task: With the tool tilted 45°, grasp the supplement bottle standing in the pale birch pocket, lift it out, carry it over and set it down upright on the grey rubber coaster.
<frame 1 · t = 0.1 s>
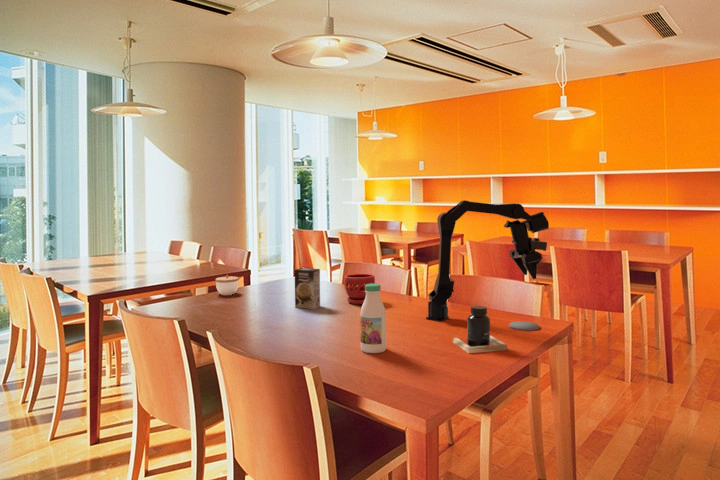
hand: (530, 276, 183), 15 cm above the table, tool pointing down, fingers open, 9 cm apart
lidded jar: (227, 294, 237), on the table
coffee box: (307, 307, 207), on the table
coaster: (524, 326, 172), on the table
milk bottle: (373, 350, 148), on the table
pocket: (478, 345, 151), on the table
supplement bottle: (478, 346, 151), on the table
plant pot: (360, 302, 215), on the table
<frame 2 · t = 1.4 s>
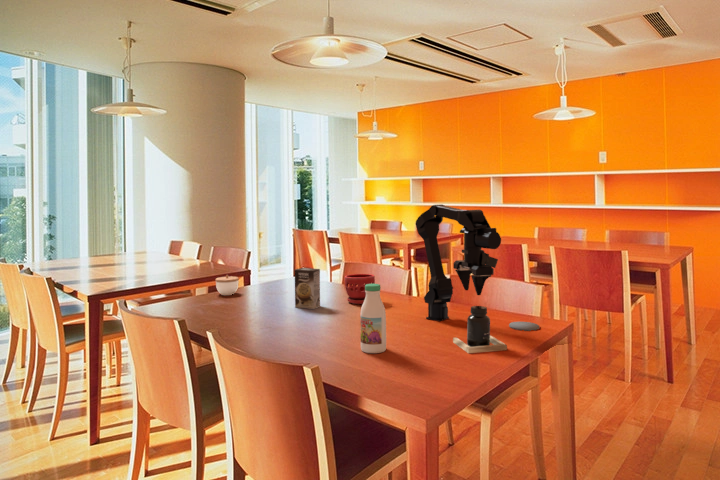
hand: (472, 292, 167), 13 cm above the table, tool pointing down, fingers open, 9 cm apart
nothing on the table moved.
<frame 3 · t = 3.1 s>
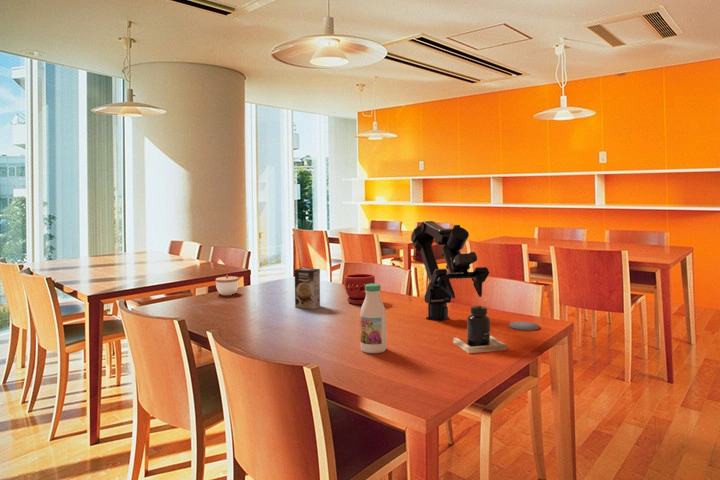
hand: (467, 297, 158), 13 cm above the table, tool tilted 45°, fingers open, 9 cm apart
nothing on the table moved.
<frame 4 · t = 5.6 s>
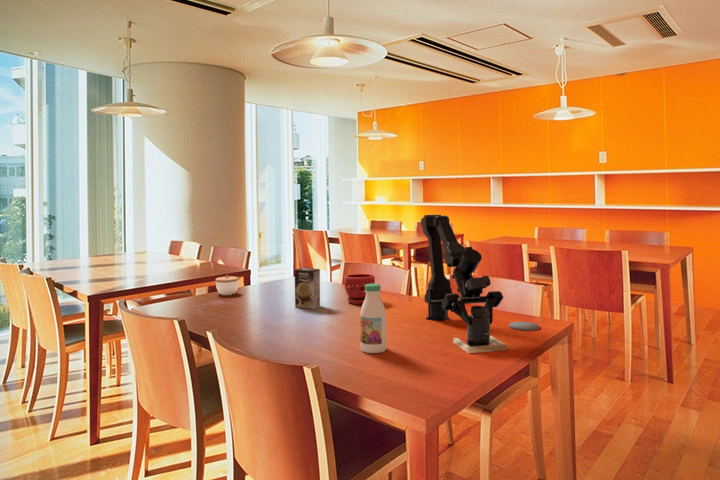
hand: (480, 324, 149), 7 cm above the table, tool tilted 45°, fingers closed on supplement bottle, 7 cm apart
supplement bottle: (478, 346, 151), on the table, touching gripper
everything else where it was.
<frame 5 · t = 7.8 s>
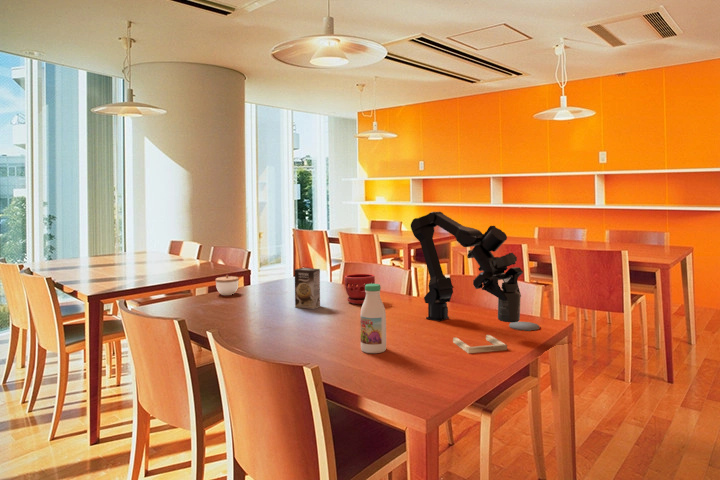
hand: (512, 299, 155), 13 cm above the table, tool tilted 45°, fingers closed on supplement bottle, 7 cm apart
supplement bottle: (508, 320, 157), point 6 cm above the table, touching gripper
everything else where it was.
when the fingers open (8 cm above the table, at t = 10.2 s): supplement bottle stays where it is, resting on coaster.
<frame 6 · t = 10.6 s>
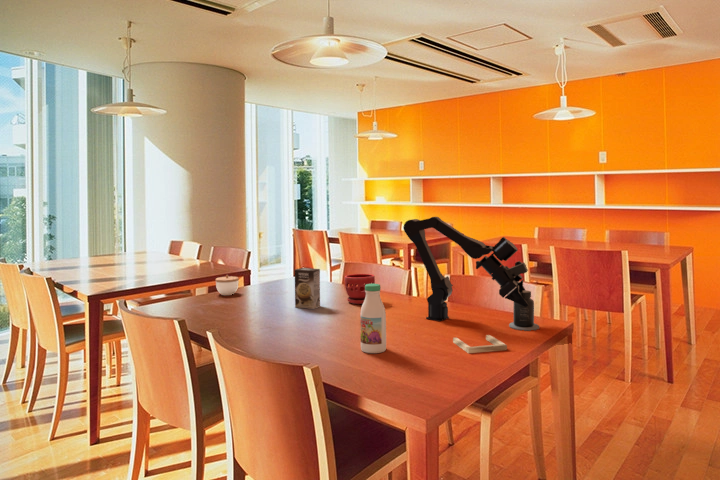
hand: (528, 303, 170), 9 cm above the table, tool tilted 45°, fingers open, 9 cm apart
supplement bottle: (523, 325, 172), resting on coaster
everything else where it was.
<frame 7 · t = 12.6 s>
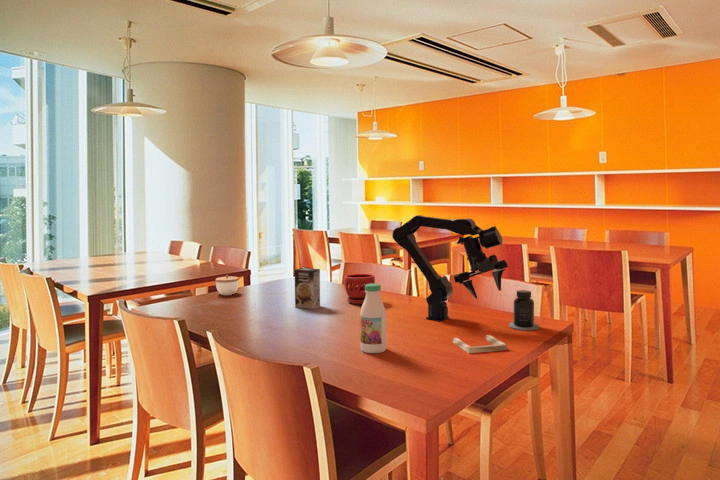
hand: (488, 294, 174), 11 cm above the table, tool tilted 20°, fingers open, 9 cm apart
nothing on the table moved.
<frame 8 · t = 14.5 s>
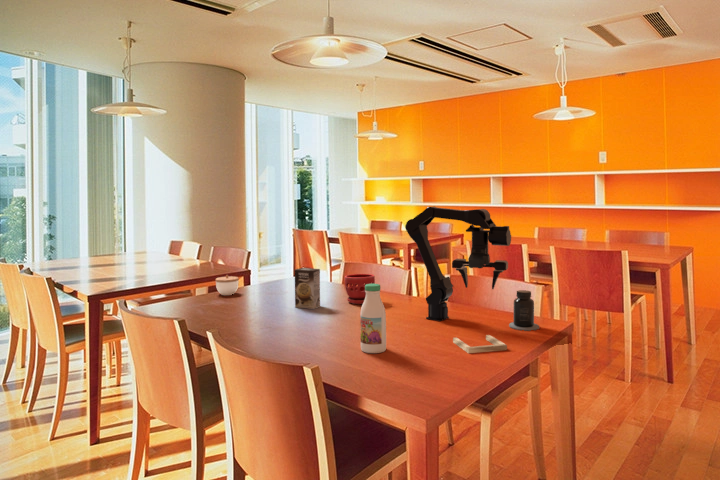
hand: (479, 288, 175), 13 cm above the table, tool pointing down, fingers open, 9 cm apart
nothing on the table moved.
at the end: supplement bottle inside the target area on the coaster (0.2 cm from its centre), point 0.4 cm above the coaster's base; supplement bottle tilted 0°; the gripper is holding nothing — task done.
